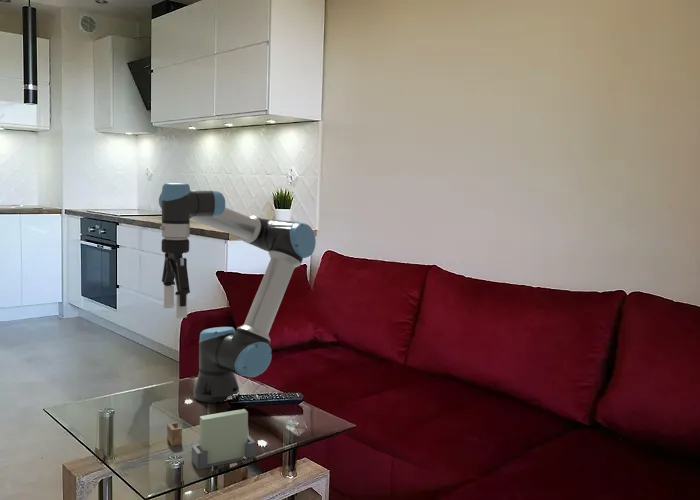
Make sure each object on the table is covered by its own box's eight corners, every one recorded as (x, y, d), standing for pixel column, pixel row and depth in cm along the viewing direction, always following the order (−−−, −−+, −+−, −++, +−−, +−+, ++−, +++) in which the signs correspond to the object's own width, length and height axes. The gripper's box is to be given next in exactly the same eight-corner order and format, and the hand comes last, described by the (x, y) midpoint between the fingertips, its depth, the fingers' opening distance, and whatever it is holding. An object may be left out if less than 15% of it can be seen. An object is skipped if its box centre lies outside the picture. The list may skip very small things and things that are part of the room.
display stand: (248, 452, 164) (248, 434, 163) (255, 460, 160) (255, 442, 159) (191, 464, 156) (191, 445, 156) (197, 472, 152) (197, 453, 151)
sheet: (243, 452, 162) (244, 408, 161) (247, 456, 160) (248, 412, 158) (199, 461, 156) (199, 416, 154) (202, 465, 154) (202, 419, 152)
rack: (222, 431, 177) (222, 414, 176) (227, 438, 172) (228, 420, 172) (167, 441, 169) (167, 423, 168) (171, 449, 164) (171, 430, 164)
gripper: (151, 234, 179) (151, 304, 182) (173, 243, 158) (173, 323, 160) (177, 233, 183) (176, 303, 186) (202, 242, 162) (201, 320, 164)
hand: (175, 312), depth 173 cm, fingers open, 13 cm apart
